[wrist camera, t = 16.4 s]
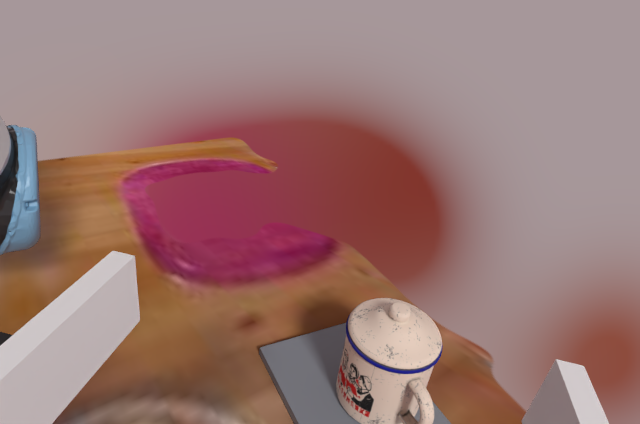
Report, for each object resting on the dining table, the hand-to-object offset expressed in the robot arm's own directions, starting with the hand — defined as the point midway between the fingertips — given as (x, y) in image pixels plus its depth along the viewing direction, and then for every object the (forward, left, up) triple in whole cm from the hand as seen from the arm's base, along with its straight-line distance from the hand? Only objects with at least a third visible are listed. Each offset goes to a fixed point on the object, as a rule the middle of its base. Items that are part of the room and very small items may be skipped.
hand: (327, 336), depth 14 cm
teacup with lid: (-12, +18, -27) cm, 35 cm away
